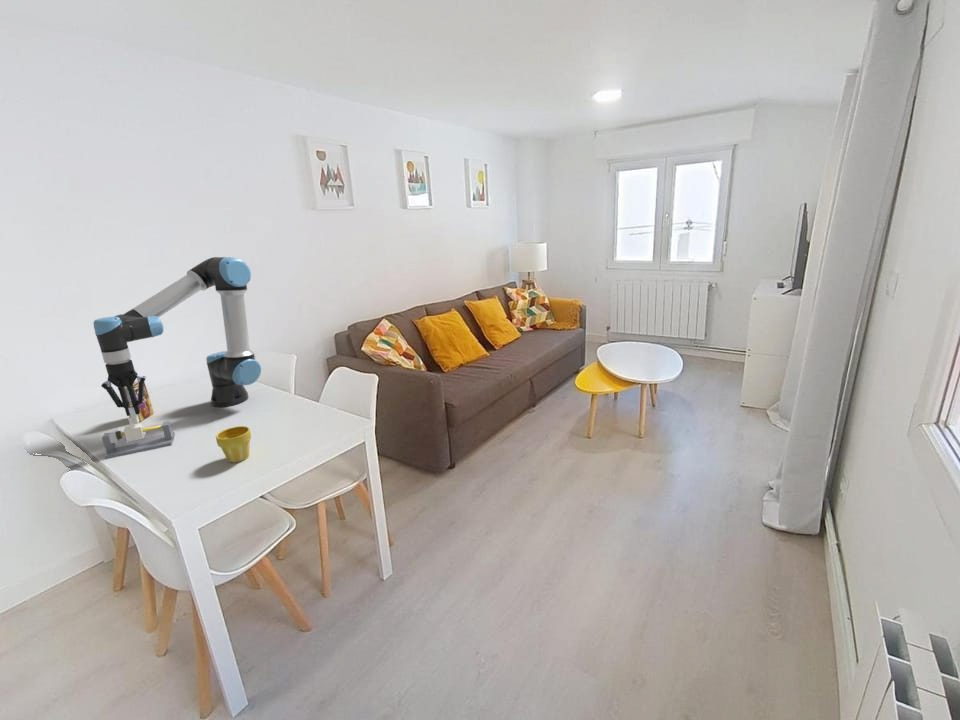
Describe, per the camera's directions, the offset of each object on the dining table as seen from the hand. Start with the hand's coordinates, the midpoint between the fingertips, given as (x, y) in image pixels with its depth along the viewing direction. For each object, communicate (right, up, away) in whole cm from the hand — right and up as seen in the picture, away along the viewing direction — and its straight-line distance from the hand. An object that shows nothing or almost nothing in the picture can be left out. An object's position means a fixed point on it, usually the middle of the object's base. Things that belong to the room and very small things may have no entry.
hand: (136, 422), depth 167 cm
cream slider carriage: (-1, -6, +1) cm, 6 cm away
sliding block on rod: (0, -9, +3) cm, 9 cm away
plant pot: (+42, -11, -9) cm, 45 cm away
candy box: (-19, -2, +29) cm, 34 cm away
